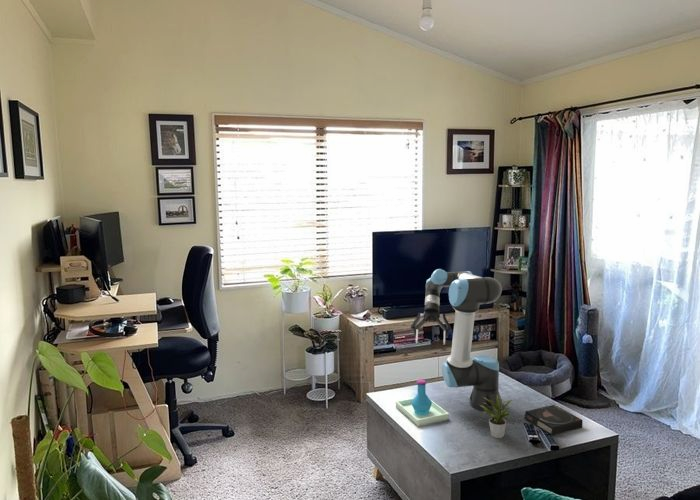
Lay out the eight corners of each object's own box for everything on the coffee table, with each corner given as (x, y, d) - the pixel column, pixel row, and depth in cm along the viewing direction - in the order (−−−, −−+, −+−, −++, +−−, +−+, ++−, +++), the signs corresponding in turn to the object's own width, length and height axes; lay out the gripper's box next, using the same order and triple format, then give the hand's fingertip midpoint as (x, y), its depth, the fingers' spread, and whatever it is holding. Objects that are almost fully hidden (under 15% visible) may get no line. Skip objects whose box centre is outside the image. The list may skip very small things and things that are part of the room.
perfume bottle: (433, 415, 234) (433, 384, 232) (413, 416, 234) (413, 385, 232) (429, 406, 244) (429, 376, 241) (410, 407, 243) (409, 377, 241)
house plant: (502, 423, 228) (503, 388, 225) (523, 437, 215) (524, 400, 213) (475, 429, 223) (475, 393, 220) (495, 444, 210) (495, 406, 207)
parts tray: (448, 419, 232) (448, 413, 232) (417, 426, 226) (417, 420, 226) (425, 401, 251) (425, 395, 251) (395, 407, 246) (395, 401, 245)
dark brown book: (524, 419, 231) (524, 411, 231) (554, 412, 238) (554, 404, 237) (550, 436, 216) (551, 427, 216) (582, 428, 223) (582, 419, 222)
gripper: (456, 310, 268) (456, 347, 256) (408, 308, 274) (405, 344, 261) (456, 302, 263) (456, 340, 250) (407, 301, 268) (404, 338, 255)
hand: (430, 342), depth 256 cm, fingers open, 13 cm apart
